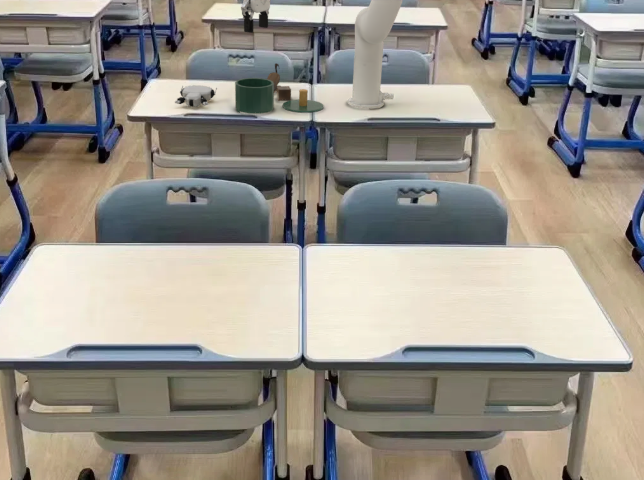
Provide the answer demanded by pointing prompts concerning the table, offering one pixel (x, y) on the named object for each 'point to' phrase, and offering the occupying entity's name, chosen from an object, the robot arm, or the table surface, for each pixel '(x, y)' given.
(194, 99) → the robot toy
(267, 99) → the tin
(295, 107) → the lid
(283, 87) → the block
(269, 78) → the figurine
